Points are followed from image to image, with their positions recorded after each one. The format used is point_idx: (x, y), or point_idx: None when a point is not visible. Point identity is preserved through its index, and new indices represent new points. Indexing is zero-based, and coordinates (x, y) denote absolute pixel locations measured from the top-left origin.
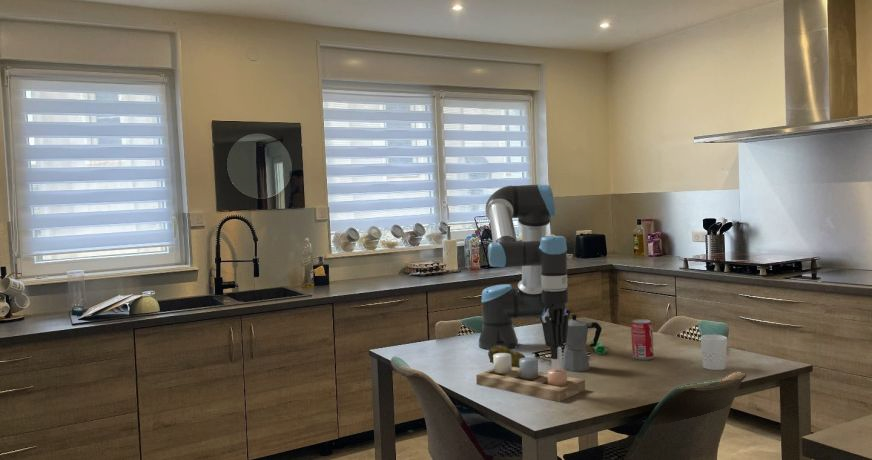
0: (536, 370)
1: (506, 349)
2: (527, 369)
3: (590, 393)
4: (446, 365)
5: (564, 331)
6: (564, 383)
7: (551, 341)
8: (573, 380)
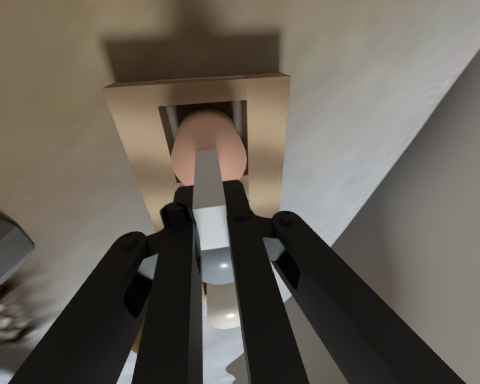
0: None
1: None
2: None
3: (129, 36)
4: (214, 341)
5: (100, 328)
6: (211, 113)
7: (322, 243)
8: (147, 118)
